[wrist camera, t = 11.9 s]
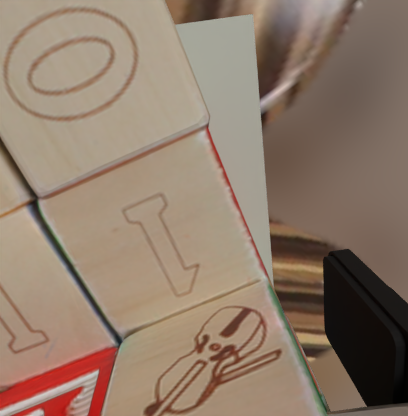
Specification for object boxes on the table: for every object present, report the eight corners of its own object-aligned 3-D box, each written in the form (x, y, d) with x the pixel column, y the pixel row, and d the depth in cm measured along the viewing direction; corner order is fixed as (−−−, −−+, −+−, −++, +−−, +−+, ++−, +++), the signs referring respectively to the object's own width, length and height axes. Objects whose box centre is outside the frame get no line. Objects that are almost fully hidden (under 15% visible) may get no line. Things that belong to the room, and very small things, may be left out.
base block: (75, 54, 17) (43, 43, 13) (237, 32, 17) (252, 14, 13) (144, 349, 22) (136, 401, 19) (264, 332, 22) (280, 380, 19)
